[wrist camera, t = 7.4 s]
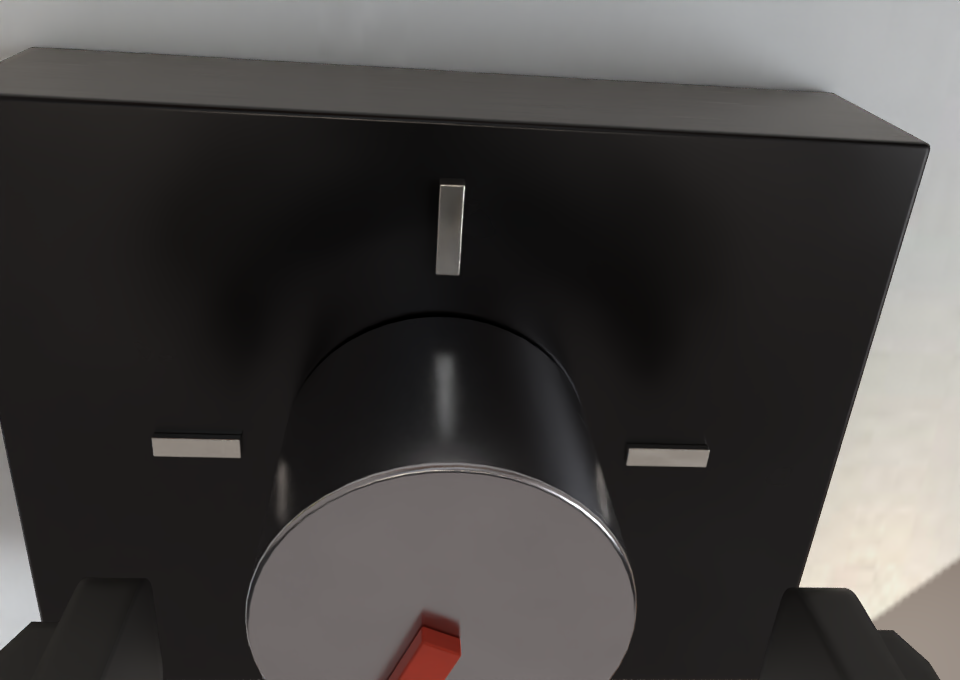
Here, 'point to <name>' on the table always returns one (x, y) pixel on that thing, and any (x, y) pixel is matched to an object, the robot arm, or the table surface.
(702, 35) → the table surface
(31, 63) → the dial base
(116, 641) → the robot arm
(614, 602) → the hob knob
